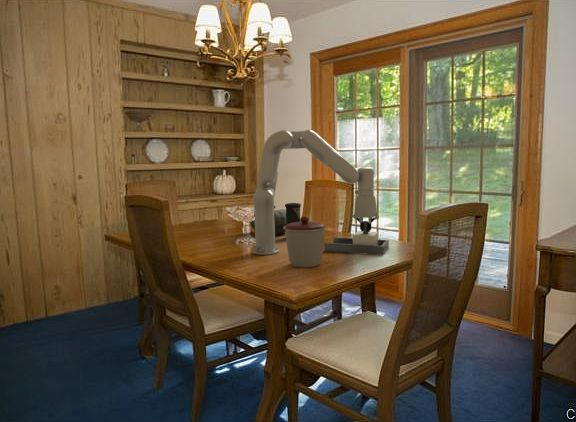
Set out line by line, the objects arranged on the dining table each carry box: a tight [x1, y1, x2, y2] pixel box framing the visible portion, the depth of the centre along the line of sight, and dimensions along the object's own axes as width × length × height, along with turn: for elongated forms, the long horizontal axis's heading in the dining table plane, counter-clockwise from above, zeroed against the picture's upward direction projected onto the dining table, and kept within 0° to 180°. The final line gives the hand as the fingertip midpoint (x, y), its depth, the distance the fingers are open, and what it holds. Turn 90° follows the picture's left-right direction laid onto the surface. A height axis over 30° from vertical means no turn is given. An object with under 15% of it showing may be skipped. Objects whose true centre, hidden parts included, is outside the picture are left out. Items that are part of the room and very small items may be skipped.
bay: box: [324, 236, 390, 256], centre depth 218 cm, size 16×28×4 cm, turn 68°
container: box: [284, 202, 302, 225], centre depth 250 cm, size 9×9×20 cm
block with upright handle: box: [352, 220, 379, 246], centre depth 215 cm, size 11×10×13 cm
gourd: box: [249, 205, 286, 236], centre depth 266 cm, size 25×25×17 cm
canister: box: [283, 215, 327, 269], centre depth 189 cm, size 18×18×21 cm
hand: (365, 230), depth 215 cm, fingers closed on block with upright handle, 2 cm apart
